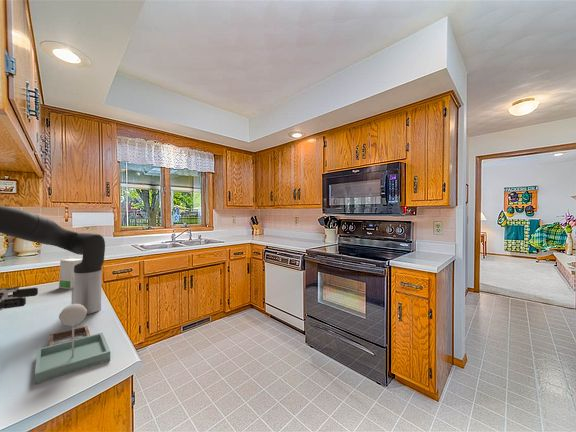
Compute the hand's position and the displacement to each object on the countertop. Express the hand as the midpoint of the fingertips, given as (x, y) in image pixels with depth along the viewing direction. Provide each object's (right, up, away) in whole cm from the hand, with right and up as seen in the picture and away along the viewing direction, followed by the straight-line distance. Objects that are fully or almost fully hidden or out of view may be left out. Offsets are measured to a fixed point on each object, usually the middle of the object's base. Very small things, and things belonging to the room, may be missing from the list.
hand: (31, 296), depth 67 cm
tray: (+7, -20, +5) cm, 21 cm away
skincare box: (-53, -19, +72) cm, 91 cm away
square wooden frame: (-2, -19, +14) cm, 24 cm away
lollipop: (+7, -19, +4) cm, 21 cm away
